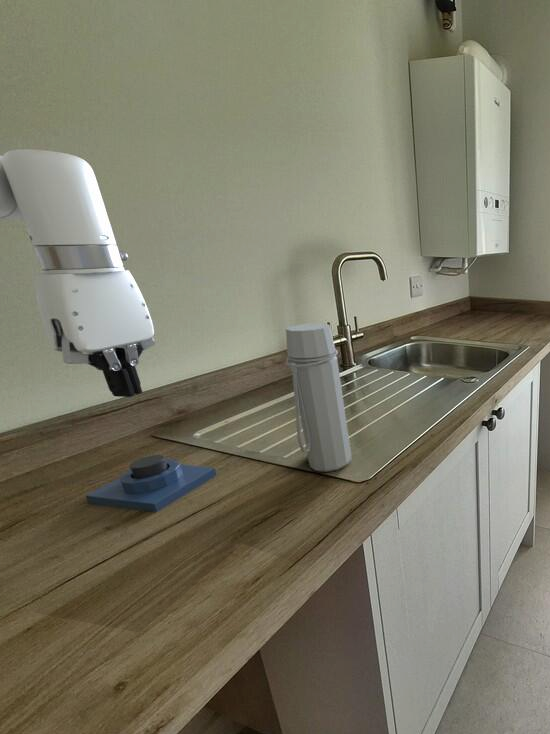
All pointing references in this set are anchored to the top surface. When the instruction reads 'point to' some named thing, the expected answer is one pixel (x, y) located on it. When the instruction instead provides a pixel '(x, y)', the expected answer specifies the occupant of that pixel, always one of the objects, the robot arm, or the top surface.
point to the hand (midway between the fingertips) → (128, 394)
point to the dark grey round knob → (148, 466)
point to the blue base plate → (152, 488)
